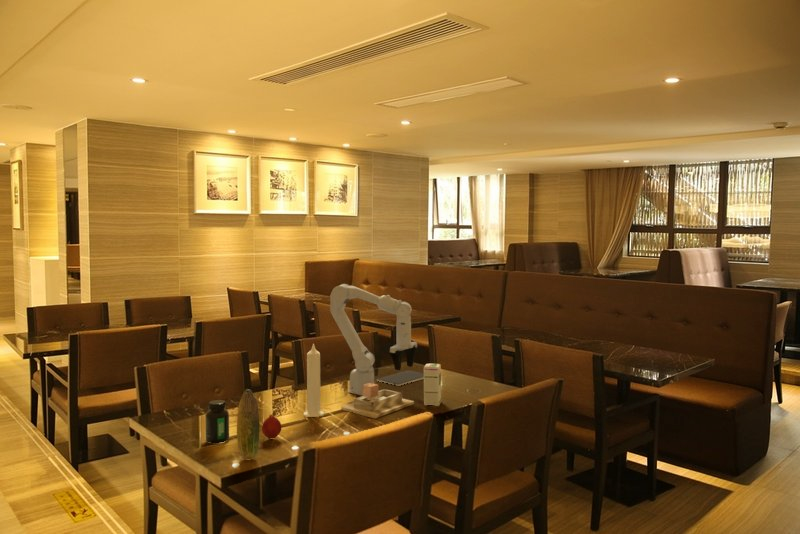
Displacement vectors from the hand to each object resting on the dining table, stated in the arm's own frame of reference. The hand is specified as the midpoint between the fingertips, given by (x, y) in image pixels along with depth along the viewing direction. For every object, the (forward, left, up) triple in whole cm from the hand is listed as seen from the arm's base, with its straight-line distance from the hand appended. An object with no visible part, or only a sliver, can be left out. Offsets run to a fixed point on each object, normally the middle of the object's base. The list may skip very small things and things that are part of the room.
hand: (403, 368), depth 233 cm
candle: (-8, -40, -11) cm, 42 cm away
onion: (0, -65, -11) cm, 66 cm away
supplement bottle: (-12, -76, -11) cm, 78 cm away
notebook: (-15, +19, -11) cm, 27 cm away
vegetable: (+7, -79, -11) cm, 80 cm away
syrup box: (+16, -3, -11) cm, 19 cm away
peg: (+3, -23, -9) cm, 25 cm away
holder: (+3, -19, -10) cm, 21 cm away
